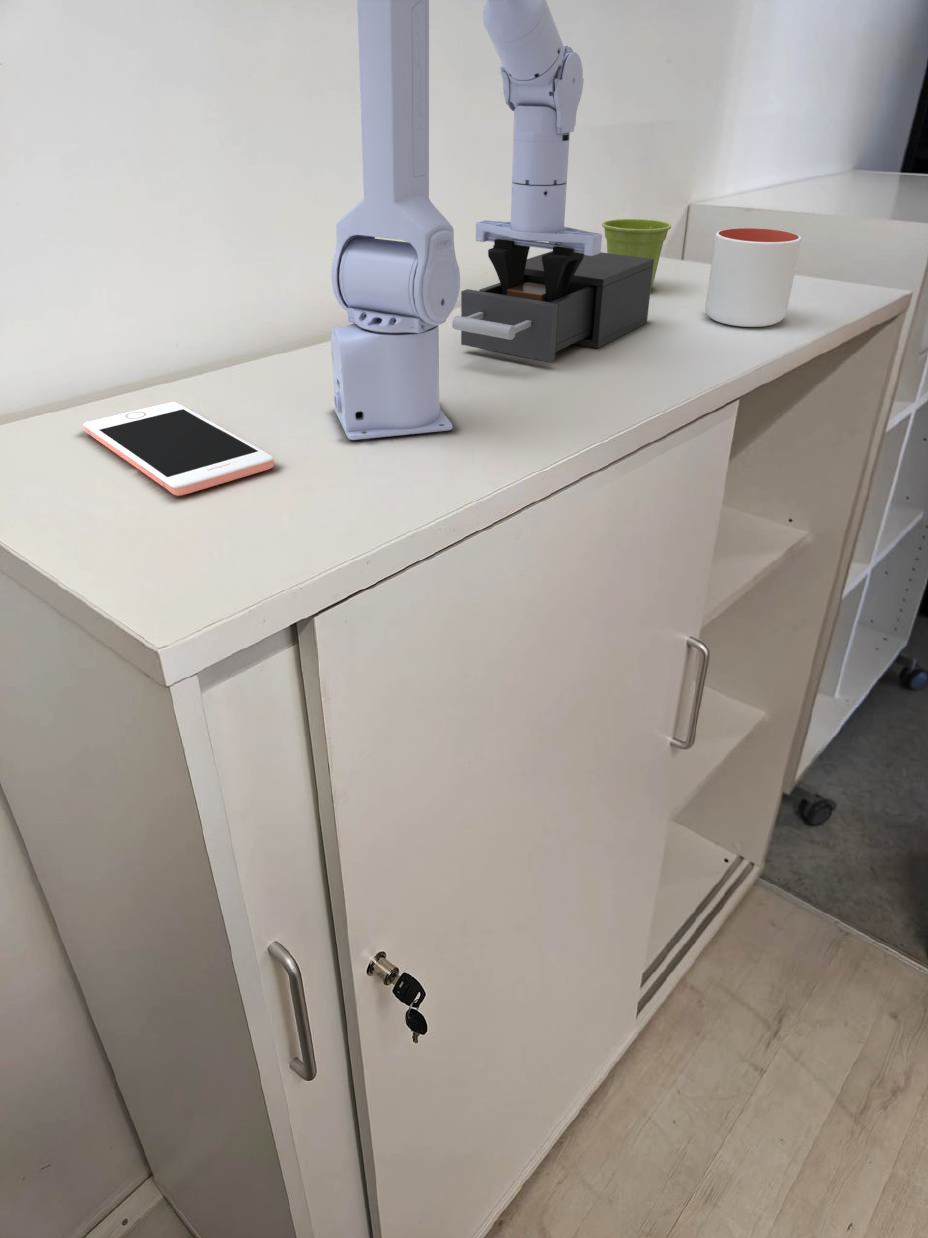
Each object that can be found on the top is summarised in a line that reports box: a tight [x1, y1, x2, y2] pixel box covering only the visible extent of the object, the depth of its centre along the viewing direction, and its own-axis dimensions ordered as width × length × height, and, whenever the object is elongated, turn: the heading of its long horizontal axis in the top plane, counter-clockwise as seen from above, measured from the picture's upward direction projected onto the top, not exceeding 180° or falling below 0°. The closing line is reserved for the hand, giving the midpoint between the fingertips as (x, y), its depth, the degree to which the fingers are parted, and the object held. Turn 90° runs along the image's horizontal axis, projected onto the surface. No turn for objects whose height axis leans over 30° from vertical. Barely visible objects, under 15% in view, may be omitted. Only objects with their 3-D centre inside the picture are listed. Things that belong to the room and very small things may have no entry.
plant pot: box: [601, 218, 672, 290], centre depth 124 cm, size 9×9×9 cm
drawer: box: [452, 275, 597, 363], centre depth 98 cm, size 17×11×6 cm, turn 146°
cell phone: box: [83, 401, 275, 497], centre depth 75 cm, size 9×18×1 cm, turn 41°
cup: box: [704, 227, 802, 328], centre depth 110 cm, size 10×10×10 cm
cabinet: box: [524, 250, 654, 350], centre depth 107 cm, size 14×13×8 cm
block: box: [507, 282, 545, 302], centre depth 99 cm, size 4×4×4 cm
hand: (533, 315), depth 100 cm, fingers closed on block, 4 cm apart
